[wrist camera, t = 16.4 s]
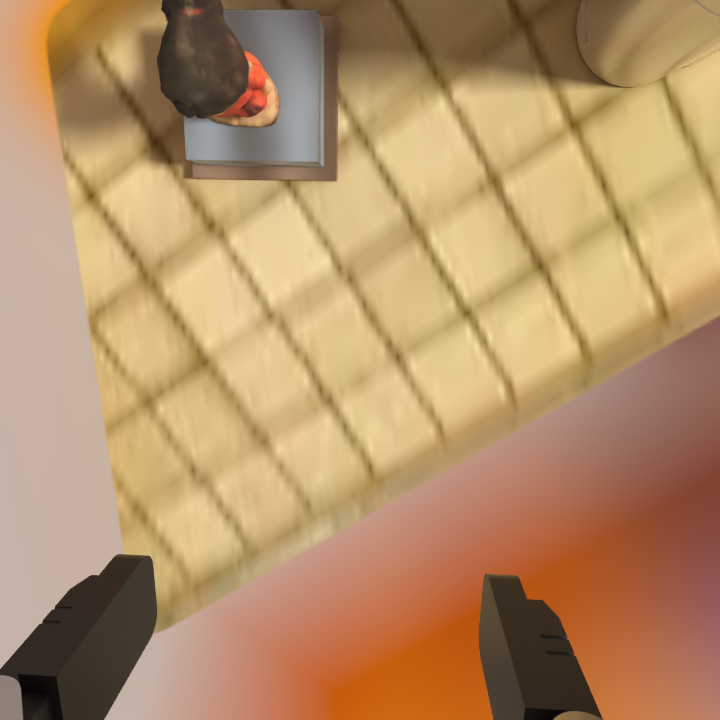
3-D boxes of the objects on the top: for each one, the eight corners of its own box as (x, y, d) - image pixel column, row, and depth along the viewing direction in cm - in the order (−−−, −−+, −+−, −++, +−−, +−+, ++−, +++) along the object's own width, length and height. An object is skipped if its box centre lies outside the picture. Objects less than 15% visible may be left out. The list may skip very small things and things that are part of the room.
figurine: (185, 78, 38) (97, 15, 27) (248, 32, 37) (185, -53, 26) (233, 157, 40) (168, 129, 28) (295, 115, 39) (255, 69, 27)
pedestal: (338, 21, 42) (331, -7, 37) (337, 181, 45) (330, 175, 40) (189, 20, 42) (161, -7, 37) (197, 178, 45) (173, 173, 40)
